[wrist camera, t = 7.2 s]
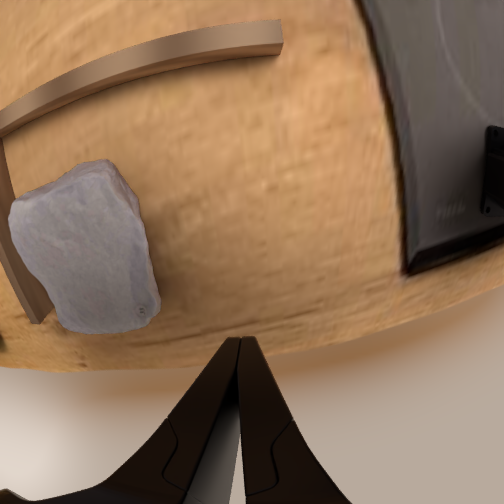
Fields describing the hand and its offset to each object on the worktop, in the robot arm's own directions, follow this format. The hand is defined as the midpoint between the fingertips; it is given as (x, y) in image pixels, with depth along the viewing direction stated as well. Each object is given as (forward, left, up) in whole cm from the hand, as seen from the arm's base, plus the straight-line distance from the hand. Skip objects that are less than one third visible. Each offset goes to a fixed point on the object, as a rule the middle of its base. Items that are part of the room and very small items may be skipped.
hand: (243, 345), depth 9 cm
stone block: (+11, +1, -10) cm, 15 cm away
